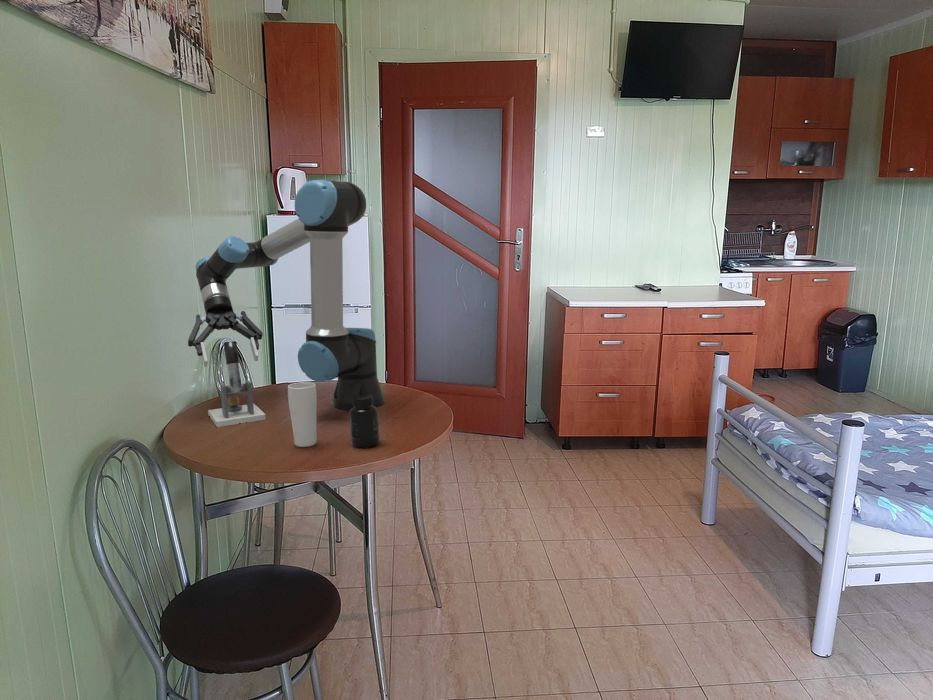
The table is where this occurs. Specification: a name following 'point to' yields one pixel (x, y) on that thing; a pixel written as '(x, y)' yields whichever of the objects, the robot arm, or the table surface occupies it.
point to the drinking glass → (303, 412)
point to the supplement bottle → (364, 422)
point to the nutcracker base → (236, 409)
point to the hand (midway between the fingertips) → (231, 361)
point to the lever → (233, 368)
